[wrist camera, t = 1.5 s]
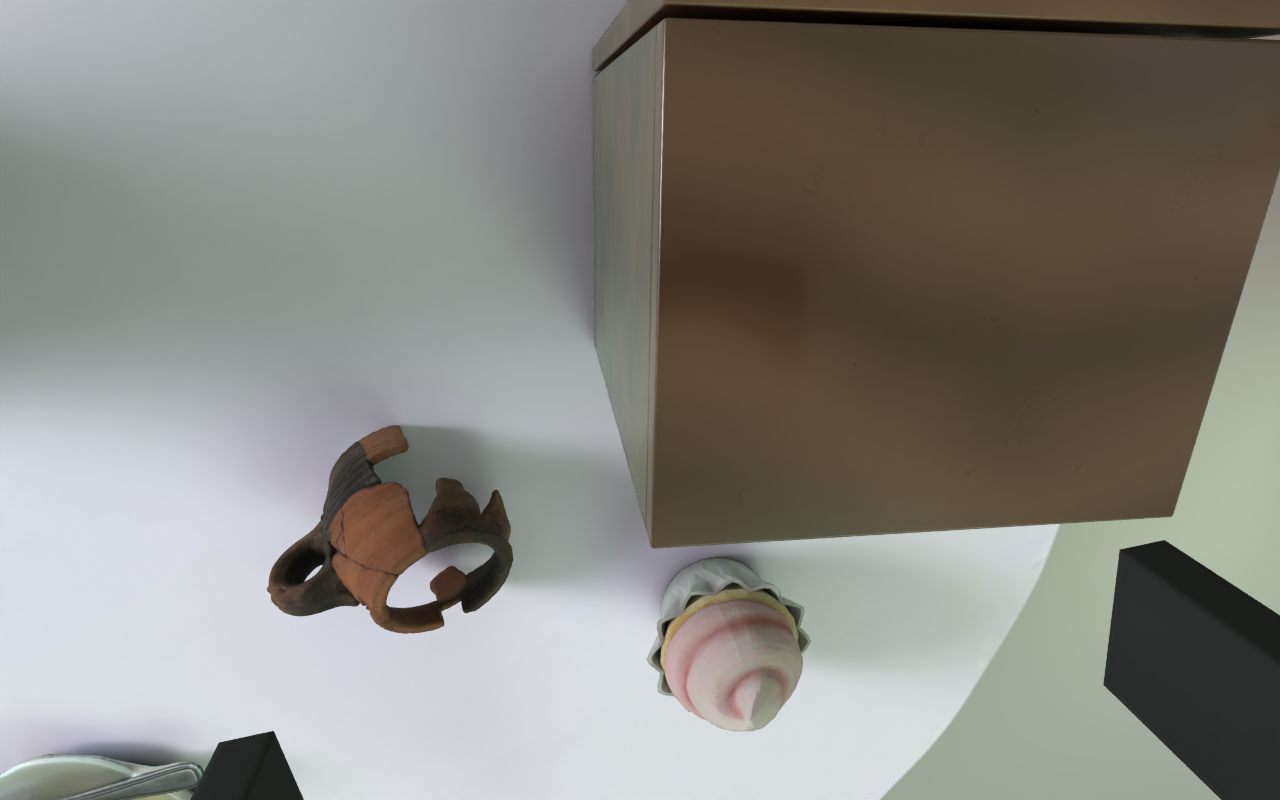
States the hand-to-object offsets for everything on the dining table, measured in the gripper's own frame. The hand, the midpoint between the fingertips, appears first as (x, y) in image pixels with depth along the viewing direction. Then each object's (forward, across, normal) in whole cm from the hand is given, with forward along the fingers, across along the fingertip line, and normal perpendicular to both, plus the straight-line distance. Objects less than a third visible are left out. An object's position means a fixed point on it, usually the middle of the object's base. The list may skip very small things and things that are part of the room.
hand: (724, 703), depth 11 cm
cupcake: (+28, +4, -20) cm, 35 cm away
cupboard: (+28, +9, +3) cm, 30 cm away
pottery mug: (+28, -12, -10) cm, 33 cm away
